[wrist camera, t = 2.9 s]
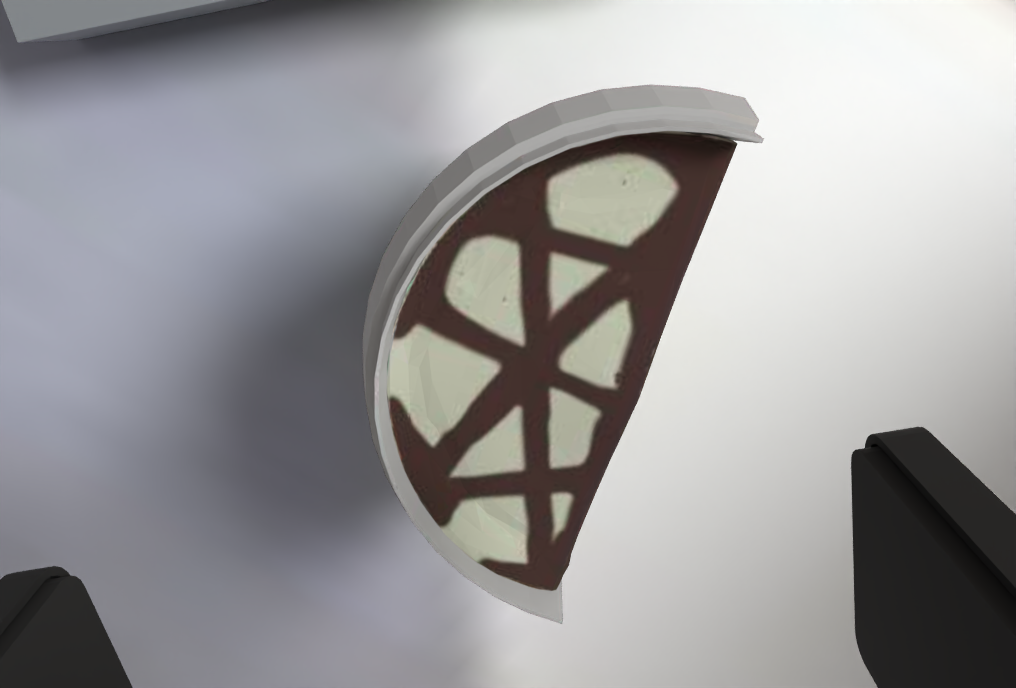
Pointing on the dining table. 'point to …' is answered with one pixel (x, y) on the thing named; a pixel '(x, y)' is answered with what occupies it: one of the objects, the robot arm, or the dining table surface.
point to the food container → (536, 320)
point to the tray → (101, 16)
